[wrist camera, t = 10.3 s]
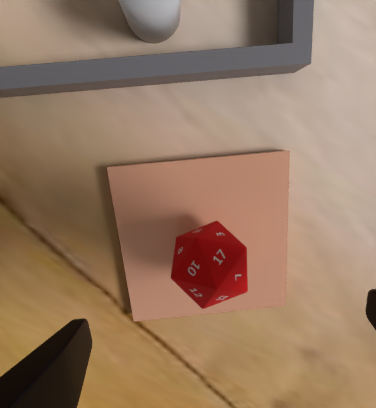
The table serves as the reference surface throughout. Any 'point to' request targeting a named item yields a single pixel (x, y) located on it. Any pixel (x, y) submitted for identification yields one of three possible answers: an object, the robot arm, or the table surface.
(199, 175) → the terracotta tile
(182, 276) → the die
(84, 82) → the spacer field
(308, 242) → the table surface
